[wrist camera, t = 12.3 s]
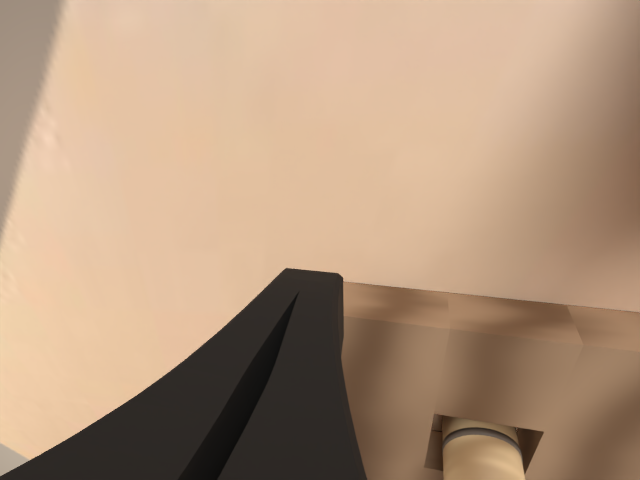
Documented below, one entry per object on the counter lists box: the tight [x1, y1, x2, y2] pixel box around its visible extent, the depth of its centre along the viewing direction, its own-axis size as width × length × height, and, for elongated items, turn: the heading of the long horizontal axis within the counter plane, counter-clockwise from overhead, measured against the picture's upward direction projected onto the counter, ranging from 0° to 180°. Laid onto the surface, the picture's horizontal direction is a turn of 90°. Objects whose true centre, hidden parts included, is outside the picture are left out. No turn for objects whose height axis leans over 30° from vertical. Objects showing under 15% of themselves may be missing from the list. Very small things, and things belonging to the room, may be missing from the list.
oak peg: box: [442, 415, 525, 480], centre depth 22 cm, size 4×4×6 cm
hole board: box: [341, 282, 640, 480], centre depth 23 cm, size 20×18×2 cm
